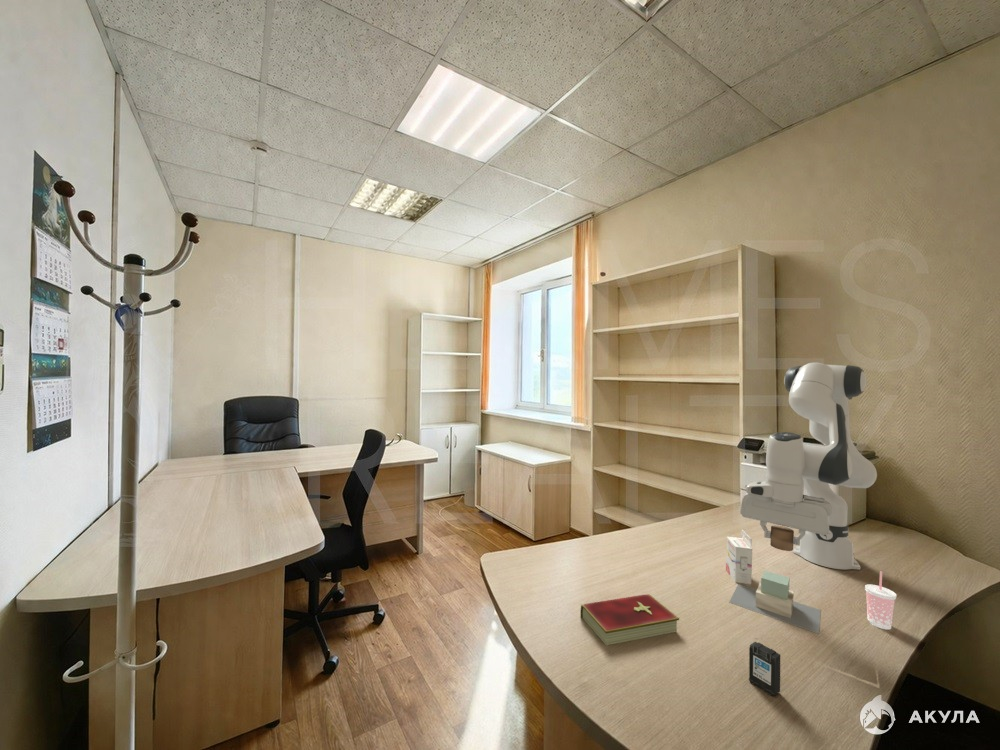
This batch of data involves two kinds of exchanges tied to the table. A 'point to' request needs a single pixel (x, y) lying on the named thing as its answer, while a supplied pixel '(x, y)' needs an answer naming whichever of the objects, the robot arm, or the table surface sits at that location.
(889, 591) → the beverage cup
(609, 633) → the hardcover book
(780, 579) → the mint green block
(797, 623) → the mat
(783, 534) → the brown rounded piece
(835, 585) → the table surface
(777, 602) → the base slab
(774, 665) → the ink cartridge
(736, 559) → the ink cartridge box
